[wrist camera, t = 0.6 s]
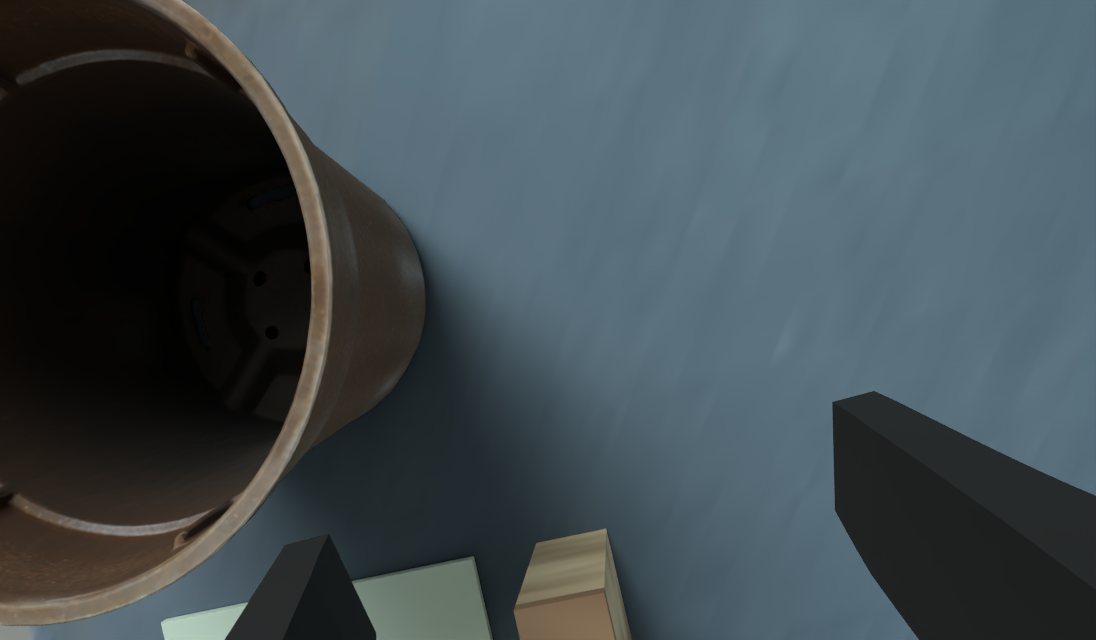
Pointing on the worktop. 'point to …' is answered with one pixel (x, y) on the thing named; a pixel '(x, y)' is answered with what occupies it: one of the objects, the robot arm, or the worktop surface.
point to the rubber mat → (385, 607)
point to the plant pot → (168, 300)
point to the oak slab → (572, 592)
